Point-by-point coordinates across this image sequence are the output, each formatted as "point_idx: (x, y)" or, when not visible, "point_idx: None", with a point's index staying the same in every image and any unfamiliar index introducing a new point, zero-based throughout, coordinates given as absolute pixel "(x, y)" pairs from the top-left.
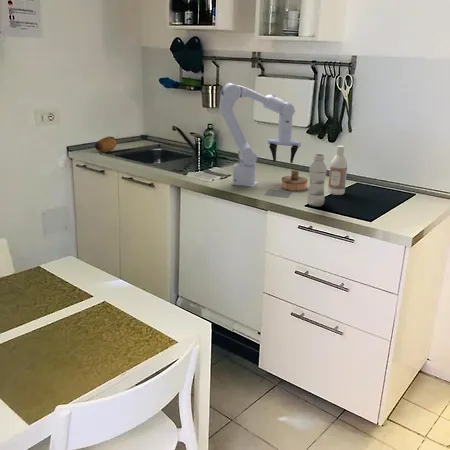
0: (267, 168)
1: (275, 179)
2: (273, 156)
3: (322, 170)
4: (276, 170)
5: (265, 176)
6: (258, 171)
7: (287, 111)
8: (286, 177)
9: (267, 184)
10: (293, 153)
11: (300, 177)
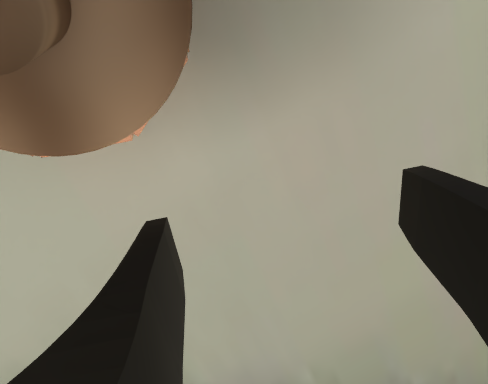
0: (432, 362)
1: (325, 192)
2: (472, 189)
3: None
4: (376, 359)
5: None
6: None
7: None
8: (149, 24)
9: (341, 5)
10: (76, 332)
11: (18, 123)
